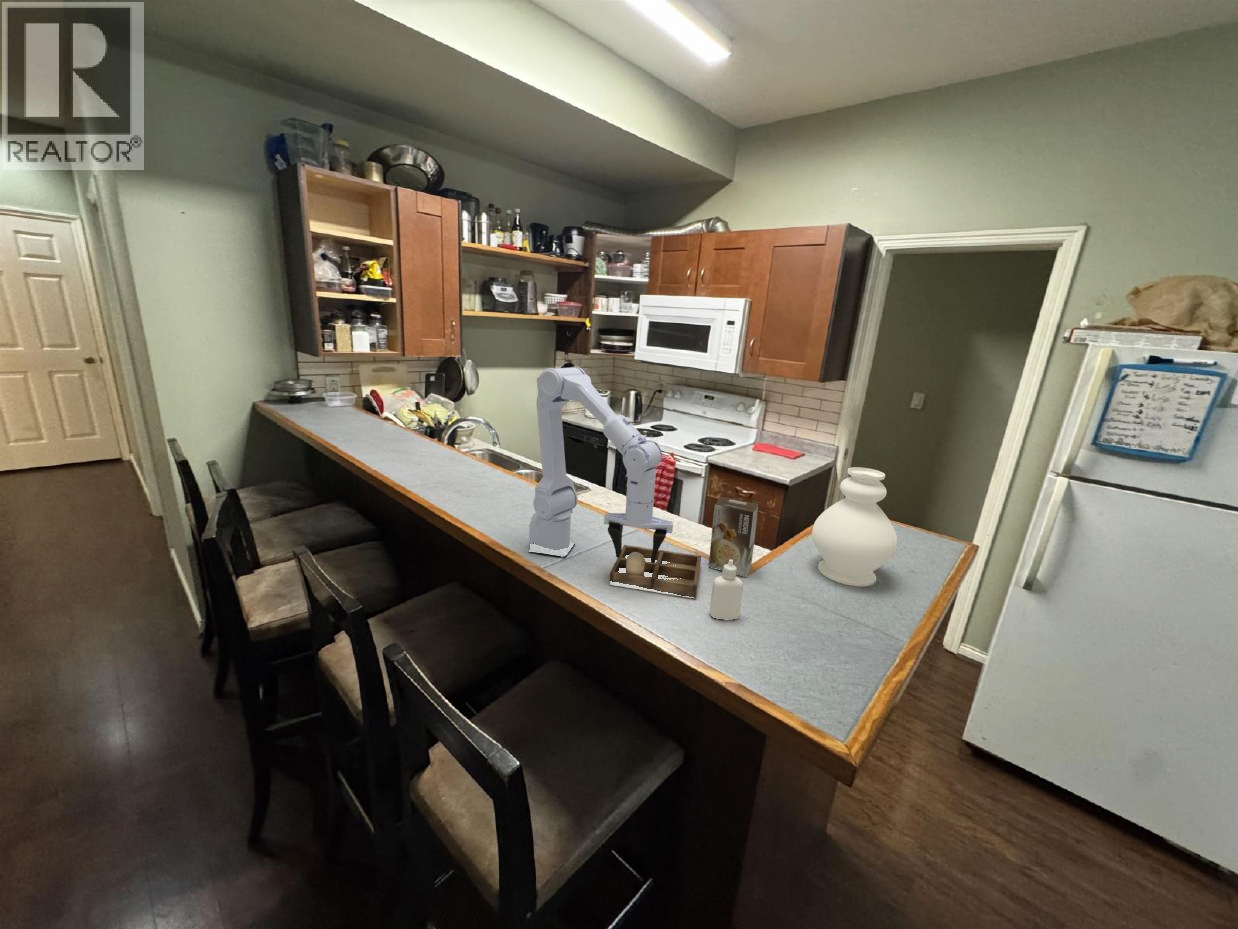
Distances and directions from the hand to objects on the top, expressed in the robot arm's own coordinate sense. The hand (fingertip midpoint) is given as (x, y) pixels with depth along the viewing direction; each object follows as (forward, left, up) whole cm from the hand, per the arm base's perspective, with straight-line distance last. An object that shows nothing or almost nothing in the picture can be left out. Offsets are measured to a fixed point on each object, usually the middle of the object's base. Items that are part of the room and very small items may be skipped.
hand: (635, 558), depth 105 cm
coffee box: (+20, +13, -6) cm, 25 cm away
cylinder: (0, 0, -5) cm, 5 cm away
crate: (+4, +3, -5) cm, 8 cm away
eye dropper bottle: (+19, -8, -6) cm, 22 cm away
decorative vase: (+47, +19, -6) cm, 51 cm away
